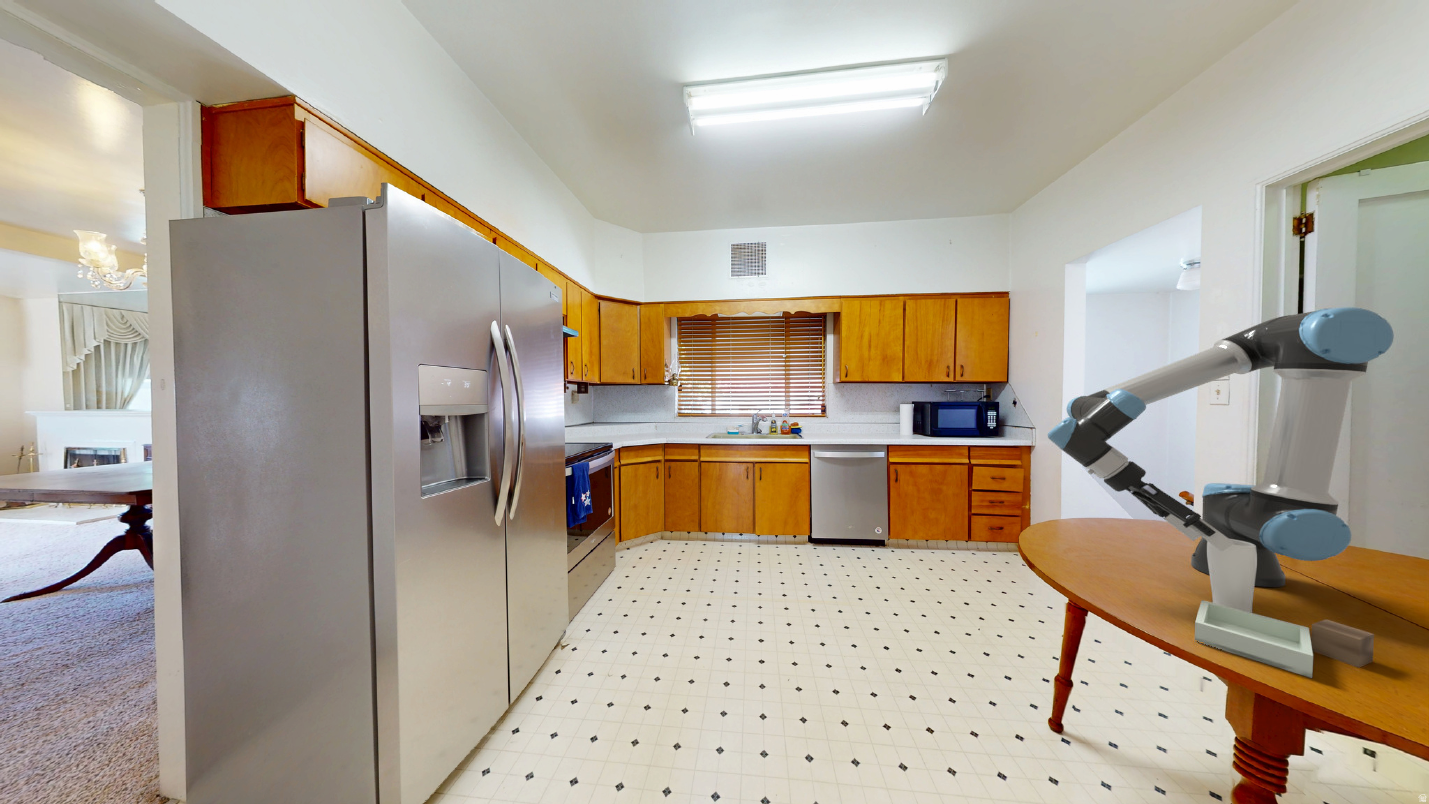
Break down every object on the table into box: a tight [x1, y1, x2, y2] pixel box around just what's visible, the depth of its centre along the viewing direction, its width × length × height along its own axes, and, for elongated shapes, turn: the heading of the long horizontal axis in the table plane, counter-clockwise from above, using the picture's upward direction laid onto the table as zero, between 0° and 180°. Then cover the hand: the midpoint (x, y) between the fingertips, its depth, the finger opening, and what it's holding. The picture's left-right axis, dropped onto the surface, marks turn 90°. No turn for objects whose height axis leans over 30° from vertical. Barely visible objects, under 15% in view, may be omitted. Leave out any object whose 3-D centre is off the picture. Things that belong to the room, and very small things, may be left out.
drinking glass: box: [1207, 539, 1257, 613], centre depth 90 cm, size 7×7×15 cm
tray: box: [1194, 599, 1314, 679], centre depth 80 cm, size 13×13×4 cm
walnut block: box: [1310, 618, 1375, 668], centre depth 76 cm, size 5×5×5 cm
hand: (1212, 541), depth 94 cm, fingers open, 13 cm apart
